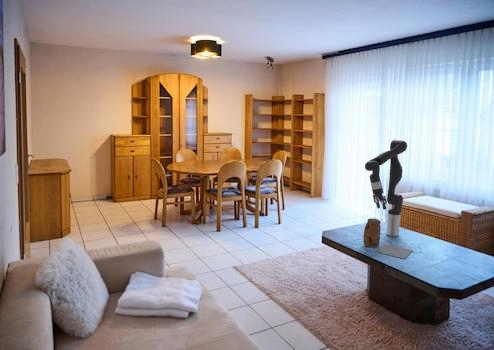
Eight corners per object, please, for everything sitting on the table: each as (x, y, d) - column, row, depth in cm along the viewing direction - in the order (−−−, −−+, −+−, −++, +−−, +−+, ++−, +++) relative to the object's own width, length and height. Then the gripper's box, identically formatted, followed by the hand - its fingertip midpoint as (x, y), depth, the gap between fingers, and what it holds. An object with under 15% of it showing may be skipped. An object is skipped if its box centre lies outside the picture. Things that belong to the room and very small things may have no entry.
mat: (384, 244, 299) (384, 243, 299) (412, 251, 287) (412, 250, 287) (375, 252, 283) (375, 251, 283) (404, 259, 271) (404, 258, 271)
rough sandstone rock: (374, 243, 301) (376, 217, 298) (380, 246, 294) (382, 220, 291) (361, 244, 298) (363, 218, 294) (367, 248, 291) (369, 221, 287)
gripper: (386, 186, 292) (391, 208, 293) (376, 185, 306) (381, 206, 307) (377, 189, 290) (382, 211, 291) (367, 188, 304) (372, 209, 305)
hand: (381, 208), depth 299 cm, fingers open, 8 cm apart
